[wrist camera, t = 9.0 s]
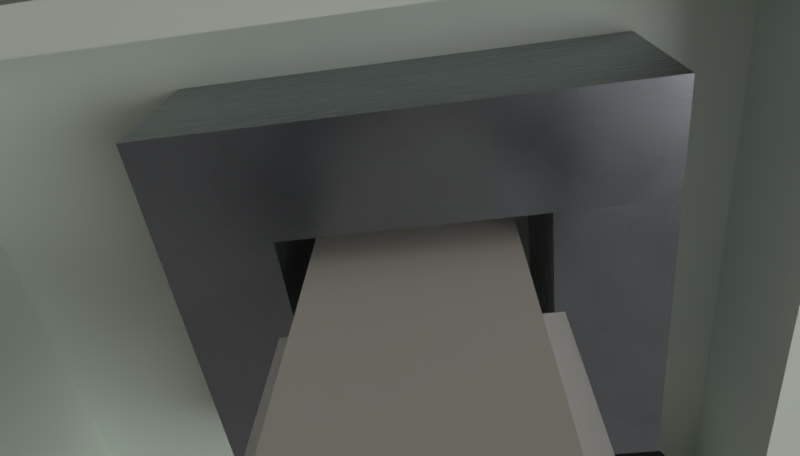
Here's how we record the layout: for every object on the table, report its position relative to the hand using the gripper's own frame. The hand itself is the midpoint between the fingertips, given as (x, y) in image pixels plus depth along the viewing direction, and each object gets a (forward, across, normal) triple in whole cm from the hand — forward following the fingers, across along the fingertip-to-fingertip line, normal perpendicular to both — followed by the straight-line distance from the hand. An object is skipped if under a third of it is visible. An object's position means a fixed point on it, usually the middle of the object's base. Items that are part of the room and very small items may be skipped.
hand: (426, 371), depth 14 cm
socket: (+5, 0, 0) cm, 5 cm away
